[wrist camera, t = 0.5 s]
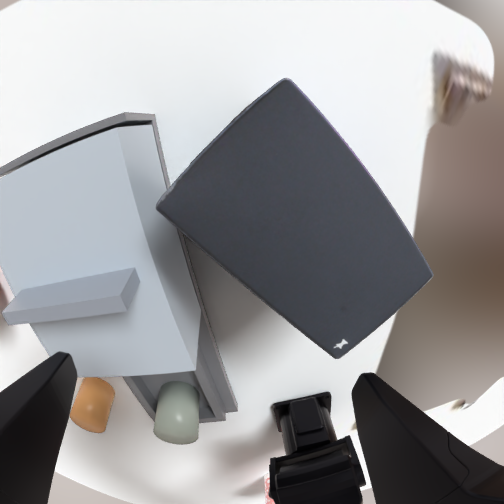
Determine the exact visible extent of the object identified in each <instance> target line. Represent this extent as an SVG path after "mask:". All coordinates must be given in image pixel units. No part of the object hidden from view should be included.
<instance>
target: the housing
mask: <svg viewBox="0 0 504 504" xmlns="http://www.w3.org/2000/svg"><path fill="white" fill-rule="evenodd" d="M140 125H152V127H153V132H154V137H155V141H156V146H157V150H158V155H159V159H160V164H161V168H162V172H163V177H164V181H165V185H166V189H167V190H168V189H169V188H170V187H171V186H170V182H169V178H168V173H167V169H166V165H165V160H164V156H163V151H162V147H161V142H160V137H159V133H158V128H157V123H156V118H155V114H143V113H127V112H124V113H121V114H118V115H116V116H113V117H110V118H107V119H104V120H101V121H99V122H96V123H93V124H91V125H88V126H86V127H83V128H81V129H78V130H76V131H73V132H71V133H69V134H66V135H64V136H62V137H60V138H57V139H55V140H53V141H51V142H49V143H47V144H44V145H42V146H40V147H38V148H36V149H34V150H32V151H30V152H28V153H26V154H24V155H22V156H21V157H19V158H17V159H15V160H13V161H11V162H10V163H8V164H6V165H4V166H3V167H1V168H0V177H2V176H4V175H7V174H9V173H11V172H13V171H15V170H17V169H19V168H21V167H23V166H25V165H27V164H29V163H31V162H33V161H35V160H37V159H39V158H41V157H44V156H46V155H48V154H50V153H52V152H55V151H57V150H59V149H62V148H64V147H66V146H69V145H71V144H74V143H76V142H79V141H81V140H84V139H86V138H89V137H92V136H94V135H97V134H100V133H103V132H105V131H108V130H111V129H114V128H117V127H127V126H140ZM177 231H178V235H179V239H180V242H181V246H182V249H183V253H184V256H185V260H186V263H187V266H188V270H189V273H190V277H191V280H192V283H193V286H194V290H195V293H196V296H197V299H198V302H199V306H200V309H201V316H200V327H199V338H198V349H197V362H196V370H195V371H186V372H176V373H165V374H153V375H139V376H122V377H123V378H124V380H125V381H126V383H127V384H128V386H129V387H130V389H131V390H132V392H133V393H134V395H135V396H136V398H137V399H138V400H139V402H140V403H141V405H142V406H143V407H144V409H145V410H146V411H147V413H148V414H149V416H150V417H151V418H152V419H153V421H154V422H155V424H154V434H155V435H156V436H157V437H158V438H159V439H161V440H163V441H165V442H168V443H172V444H190V443H193V442H195V441H196V440H197V439H198V427H199V423H206V422H217V421H226V416H225V413H228V412H236V411H238V406H237V402H236V399H235V396H234V394H233V391H232V388H231V386H230V383H229V380H228V377H227V374H226V372H225V369H224V366H223V363H222V360H221V357H220V354H219V351H218V348H217V345H216V343H215V340H214V336H213V333H212V330H211V327H210V324H209V321H208V318H207V315H206V312H205V309H204V305H203V302H202V299H201V296H200V292H199V289H198V286H197V282H196V279H195V276H194V272H193V269H192V265H191V262H190V258H189V255H188V251H187V248H186V244H185V240H184V237H183V233H182V232H181V231H180V230H179V229H178V228H177Z"/></svg>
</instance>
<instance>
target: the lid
mask: <svg viewBox="0 0 504 504" xmlns="http://www.w3.org/2000/svg"><path fill="white" fill-rule="evenodd" d="M166 191H167V189H166V185H165V181H164V177H163V172H162V168H161V164H160V159H159V155H158V150H157V146H156V141H155V137H154V132H153V127H152V125H140V126H127V127H117V128H114V129H111V130H108V131H105V132H103V133H100V134H97V135H94V136H92V137H89V138H86V139H84V140H81V141H79V142H76V143H74V144H71V145H69V146H66V147H64V148H62V149H59V150H57V151H55V152H52V153H50V154H48V155H46V156H44V157H41V158H39V159H37V160H35V161H33V162H31V163H29V164H27V165H25V166H23V167H21V168H19V169H17V170H15V171H13V172H11V173H9V174H8V175H6V176H4V177H2V178H0V266H1V269H2V271H3V273H4V275H5V278H6V280H7V282H8V284H9V286H10V288H11V290H12V292H13V294H14V296H15V298H14V299H13V300H12V301H11V302H10V304H9V305H8V306H7V307H6V308H5V309H4V311H3V312H2V315H3V317H4V318H5V320H6V322H7V323H8V325H15V324H26V323H29V324H30V326H31V327H32V329H33V331H34V332H35V334H36V336H37V337H38V339H39V340H40V342H41V344H42V345H43V347H44V348H45V350H46V351H47V353H48V354H49V356H50V357H51V356H52V355H54V354H55V353H56V352H58V351H62V352H66V353H69V354H71V356H72V358H73V361H74V364H75V367H76V370H77V377H120V376H139V375H153V374H165V373H176V372H186V371H195V370H196V362H197V349H198V338H199V327H200V316H201V309H200V306H199V302H198V299H197V296H196V293H195V290H194V286H193V283H192V280H191V277H190V273H189V270H188V266H187V263H186V260H185V256H184V253H183V249H182V246H181V242H180V239H179V235H178V231H177V228H176V227H175V226H174V225H173V224H172V223H171V222H170V221H169V220H167V219H166V218H165V217H164V216H163V215H162V214H161V213H159V212H158V211H157V210H156V204H157V202H158V201H159V199H160V198H161V196H162V195H163V194H164V193H165V192H166Z"/></svg>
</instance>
